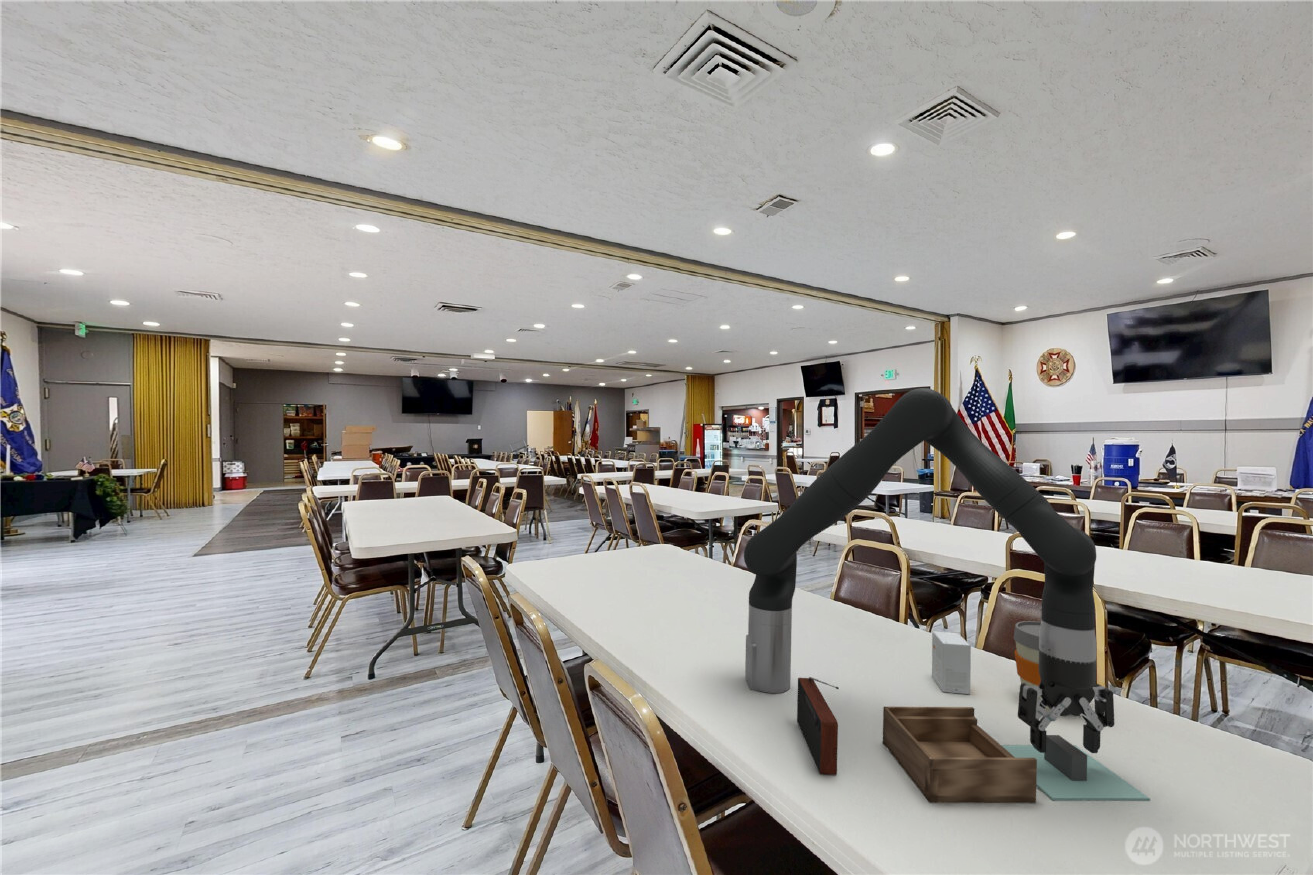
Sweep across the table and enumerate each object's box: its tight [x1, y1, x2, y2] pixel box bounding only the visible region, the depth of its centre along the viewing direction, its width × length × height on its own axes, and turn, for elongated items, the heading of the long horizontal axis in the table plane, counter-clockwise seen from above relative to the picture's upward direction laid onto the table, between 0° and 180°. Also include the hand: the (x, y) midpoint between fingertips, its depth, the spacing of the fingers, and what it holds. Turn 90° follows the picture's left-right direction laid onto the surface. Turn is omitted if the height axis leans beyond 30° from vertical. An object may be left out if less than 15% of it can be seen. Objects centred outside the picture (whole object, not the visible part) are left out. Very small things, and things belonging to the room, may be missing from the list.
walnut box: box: [882, 706, 1037, 804], centre depth 90 cm, size 16×16×6 cm
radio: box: [796, 676, 839, 776], centre depth 95 cm, size 19×3×15 cm, turn 178°
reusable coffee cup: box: [1013, 620, 1050, 711], centre depth 114 cm, size 12×13×15 cm
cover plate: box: [1000, 734, 1151, 802], centre depth 90 cm, size 15×14×5 cm
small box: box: [931, 630, 972, 695], centre depth 122 cm, size 8×6×10 cm
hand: (1064, 750), depth 91 cm, fingers open, 8 cm apart
